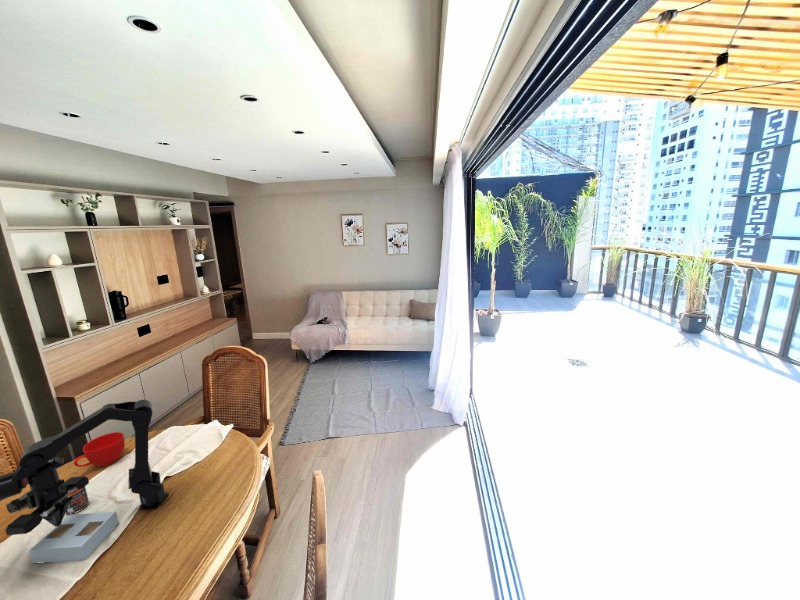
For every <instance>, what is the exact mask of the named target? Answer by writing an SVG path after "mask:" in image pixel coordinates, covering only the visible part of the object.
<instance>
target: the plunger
mask: <svg viewBox="0 0 800 600" xmlns="http://www.w3.org/2000/svg"><path fill="white" fill-rule="evenodd" d="M69 529H70V526H69V524H65V525H62V526H60V527H58V528H56V529H55V530H54V531H53V532H52V533H51V537H52V538H61V537H62V536H63V535H64V534H65V533H66V532H67V531H68V530H69Z"/></svg>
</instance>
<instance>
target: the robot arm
mask: <svg viewBox="0 0 800 600" xmlns="http://www.w3.org/2000/svg"><path fill="white" fill-rule="evenodd" d="M152 405H153V404H152V402H151V401H150V400H147V399H140V400H136V401H123V402H119V403H118V402H117V403H107V404H105V405H103V406H102V407H101V408H99V409H98V410H96V411H95V412H93V413H91V414H89V415H88V416H86V417H85V418H82V419H81V420H79V421H77V422H76V423H74V424H73V425H71V426H70V427H68V428H66V429H64V430H63V431H61V432H59V433H56V434H55V435H52V436H49V437H45V438H43V439H41V440H39V441H37V442H34V443H33V444H31V445H29V446H27V448H25V451H24V452H23V454H22V456H21V458H20V460H19V462H18V463H19V465H18V466H17V467H16V469H15V470H14V471H12V472H9V473H6V474H3V475H0V501H2V500H5V499H8V498H11V497H13V496H16V495H19V494H21V493H22V491H23V489H25V488H27V486H28V485H29V488H30V490H29V491H27V492H25V493H24V494H23V495H22V496H19V497H18V498H15V499H12V500H11V501H9V502H8V503H7V504H5V505H6V506H5V507H6V510H7V512H8V513H9V514H14V513H16V512H20V511H22V510H24V509H26V508H28V510H30V509H31V510H32V509H34V508H35V510H33V511H32V512H31V513H26V514H20V515H19V516H18V517H16V519H14V520H13V521H12V522H10V523H9V524H7V525H6V527H5V534H6V536H13V535H26V534H29V533H31V532H32V531H33V530H34V529H35V528H36V527H38V526H39V525H40V524H41V523H42V521H43V520H45V521H46V522H48V523H49V524H50V525H52V526H54V528H55V527H57V526H59V525H60V524H61V523H62V521H63V520H64V517H65V515H66V510H67V508H68V506H69V504H70V501H71V500H72V499H73V497H68V495H67V494H68V493H69V492H70V491H72V490H73V489H74V487H77V489H83V488H84V487H85V488H86V486H87V485H90V480H89V477H87V476H85V475H84V476H70V477H68V479H66V480H65V479H63V478H62V479H60V476H59V473H58V469H57V468H58V467H59V468H60V467H62V466H63V464H64V461H65V458H63V457H57V455H58V454H60V452H61V451H62V450H64V449H65V448H66V447H67V446H69V445H71V444H72V443H74V442H76V440H78V439H80V438H81V437H83V436H85V435H86V434H88V433H90V432H91V431H92V430H94V429H96V428H98V427H99V426H102V424H103V423H105V422H107V421H110V420H111V421H112V420H115V421H121V422H131V424H132V427H133V430H134V453H135V454H134V458H135V459H134V466H133V468H129V469H128V490H131V493H132V494H137V495H138V496H139V501H140V504H141V505H140V507H138V510H139V511H143V510H144V511H145V510H157V509H158V508H159V507H160V506H161V505H162V504H163V503H164V501H165V500H166V499H167V498H168V497H169V495H170V493H169V492H165V487H164V484H163V483H162V482H161V474H160V472H157V471H152V469H151V468H152V467H151V463H150V462H149V427H150V425H151V421H152V417H153V406H152Z"/></svg>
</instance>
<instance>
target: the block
mask: <svg viewBox="0 0 800 600" xmlns="http://www.w3.org/2000/svg"><path fill="white" fill-rule="evenodd" d="M118 517H119V516H118V514H117V511H114V510H113V511H102V512H89V513H74V514H68V516H67V517H65V518H63V520H62V523H61V524H60V525H59V526H57V527H55V526H54V528H53V529H52V530H51V531H50V532H48V533H47V534H46V535H45V536H44V537H43V538H41V539H40V540H39V541H38V542H36V544H35V545H34V546H32V547H31V548H30V549H29V550H28V551H29V556H30V557H31V561H32V564H33V563H38V562H53V563H62V562H63V563H64V561H65V562H75V561H86V560H87V559H88V558H89V557H90V556H91V555H92V554H93V552H94V551H95V550H97V548H98V547H100V546H101V544H102V543H103V542H104V541H105V540H106V538H107V537H108V536H110V534H111V533H112V532H113V531H114V530H113V528H114V527H115V526H116V525H117V524H118V523H119V524H120V522H119V521H120V520H119V518H118ZM93 522H98V523H99V527H98V528H97V529H96V530H95V531H94V532H93V533H92V534H91V535H86V536H82V534H81V531H82V529H83V528H84V527H86V526H87V525H89V524H91V523H93ZM65 524H69V526H70V529H69V530H68V531H67V532H66V533H65V534H64V535H63V536H62V537H61V538H52V537H51V533H52V532H53V531H54V530H55V529H56V528H58V527H60V526H62V525H65ZM119 524H118V525H119ZM118 525H117V526H118ZM117 526H116V527H117ZM116 527H115V528H116ZM112 530H113V531H112ZM111 531H112V532H111Z"/></svg>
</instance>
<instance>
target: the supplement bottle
mask: <svg viewBox="0 0 800 600" xmlns="http://www.w3.org/2000/svg"><path fill="white" fill-rule="evenodd" d="M67 495H68V497H73V499H72V500H71V501H70V504H69V506H68V508H67V510H66V512H65V514H66V515H71V514H70V513H74V514H76V513H75V512H77V511H79V510H81V509H82V510H83V508H84V507H85V508H86V507H87V506H88V505H89V504H88V503H89V502H90V501H89V497H88V492H87V489H86V486H85V487H84V488H83V489H77V487H74V489H73V490H72V491H70V492H69V493H68V494H67ZM85 508H84V509H85ZM82 510H81V511H82ZM79 512H80V511H79ZM77 513H78V512H77Z"/></svg>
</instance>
